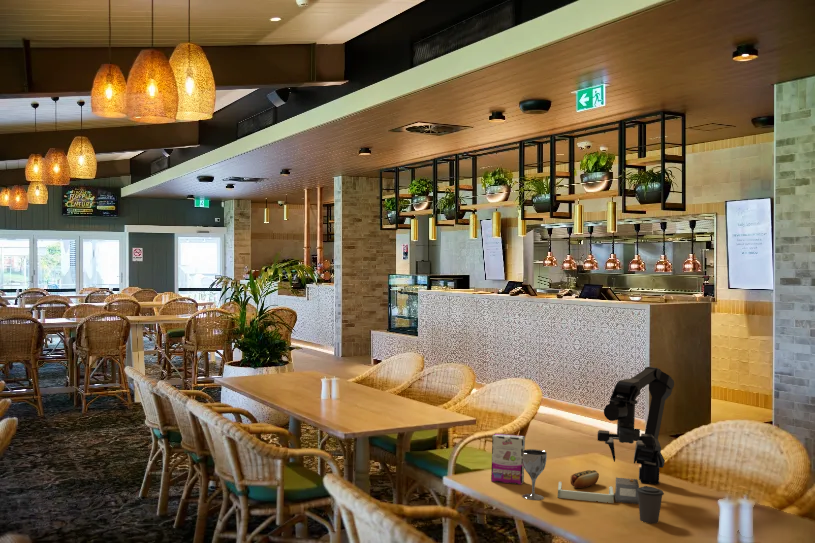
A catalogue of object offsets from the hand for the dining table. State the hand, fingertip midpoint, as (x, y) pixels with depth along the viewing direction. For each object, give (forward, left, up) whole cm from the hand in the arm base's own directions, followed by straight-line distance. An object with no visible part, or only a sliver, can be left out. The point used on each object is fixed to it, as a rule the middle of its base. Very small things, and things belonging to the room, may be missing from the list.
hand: (624, 462), depth 270 cm
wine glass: (+30, +18, -10) cm, 36 cm away
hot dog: (+13, -2, -10) cm, 17 cm away
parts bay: (+13, +10, -10) cm, 19 cm away
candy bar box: (+40, +2, -10) cm, 41 cm away
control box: (-1, +10, -10) cm, 14 cm away
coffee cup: (-6, +31, -10) cm, 33 cm away
